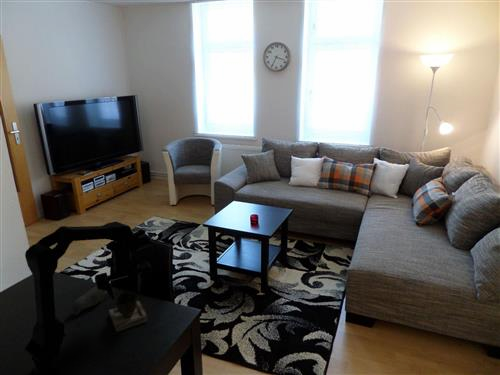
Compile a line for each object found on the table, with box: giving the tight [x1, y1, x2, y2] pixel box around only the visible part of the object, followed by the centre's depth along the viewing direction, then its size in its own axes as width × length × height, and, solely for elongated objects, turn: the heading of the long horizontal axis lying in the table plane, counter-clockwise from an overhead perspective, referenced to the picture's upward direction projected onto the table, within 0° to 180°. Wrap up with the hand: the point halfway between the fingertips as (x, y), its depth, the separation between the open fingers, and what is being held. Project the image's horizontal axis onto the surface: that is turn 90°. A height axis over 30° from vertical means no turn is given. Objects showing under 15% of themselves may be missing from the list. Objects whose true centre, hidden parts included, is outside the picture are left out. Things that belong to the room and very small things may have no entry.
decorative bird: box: [72, 285, 110, 316], centre depth 132 cm, size 5×16×7 cm, turn 151°
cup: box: [114, 291, 138, 318], centre depth 124 cm, size 8×7×8 cm
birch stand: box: [109, 300, 149, 333], centre depth 125 cm, size 11×11×2 cm
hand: (126, 295), depth 123 cm, fingers open, 9 cm apart
